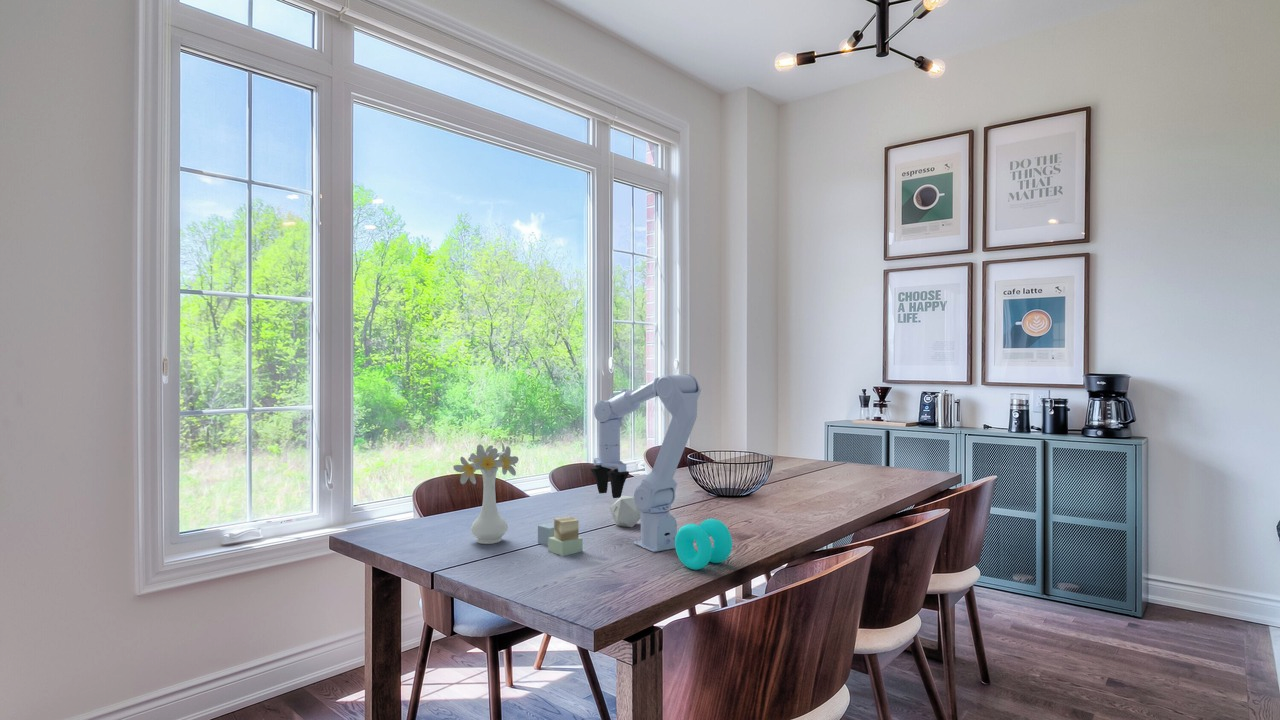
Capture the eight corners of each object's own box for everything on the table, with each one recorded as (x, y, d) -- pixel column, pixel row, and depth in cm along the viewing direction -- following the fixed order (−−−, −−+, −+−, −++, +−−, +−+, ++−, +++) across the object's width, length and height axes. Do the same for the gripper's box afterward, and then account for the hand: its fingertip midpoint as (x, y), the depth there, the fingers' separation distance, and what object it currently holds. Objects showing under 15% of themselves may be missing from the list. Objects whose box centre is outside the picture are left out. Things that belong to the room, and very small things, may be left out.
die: (612, 523, 194) (601, 499, 189) (638, 506, 196) (627, 482, 191) (626, 540, 187) (614, 516, 182) (652, 522, 190) (641, 498, 184)
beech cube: (578, 538, 162) (578, 520, 162) (561, 541, 160) (561, 522, 160) (570, 534, 166) (570, 516, 166) (554, 536, 164) (554, 518, 164)
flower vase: (447, 549, 165) (446, 448, 165) (485, 531, 183) (485, 440, 183) (493, 553, 161) (493, 450, 161) (528, 535, 179) (528, 441, 179)
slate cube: (562, 542, 171) (562, 525, 171) (549, 546, 168) (549, 528, 168) (551, 539, 174) (551, 522, 174) (537, 543, 171) (537, 525, 171)
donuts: (734, 565, 151) (734, 521, 151) (705, 575, 144) (705, 529, 144) (701, 556, 158) (701, 514, 158) (672, 565, 151) (672, 521, 151)
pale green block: (582, 552, 163) (582, 537, 163) (562, 557, 159) (562, 542, 159) (568, 547, 168) (567, 533, 168) (548, 552, 163) (548, 537, 164)
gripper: (583, 443, 183) (583, 492, 183) (609, 448, 171) (610, 501, 171) (606, 441, 187) (606, 489, 187) (633, 446, 175) (633, 498, 175)
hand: (609, 495), depth 179 cm, fingers open, 7 cm apart
